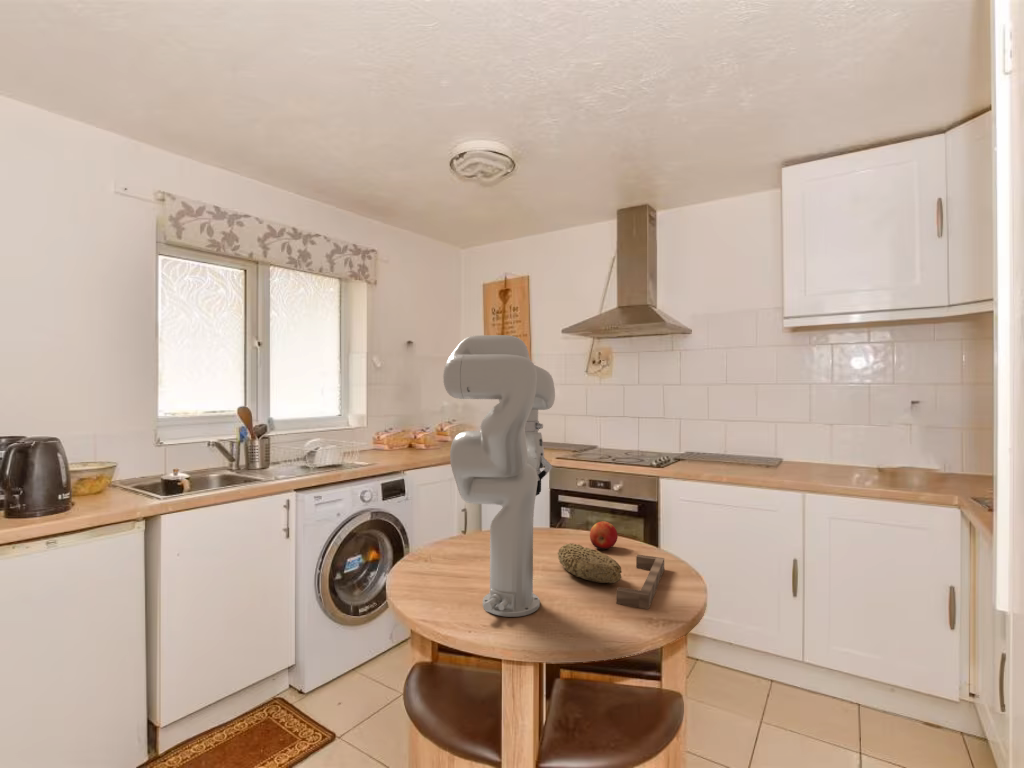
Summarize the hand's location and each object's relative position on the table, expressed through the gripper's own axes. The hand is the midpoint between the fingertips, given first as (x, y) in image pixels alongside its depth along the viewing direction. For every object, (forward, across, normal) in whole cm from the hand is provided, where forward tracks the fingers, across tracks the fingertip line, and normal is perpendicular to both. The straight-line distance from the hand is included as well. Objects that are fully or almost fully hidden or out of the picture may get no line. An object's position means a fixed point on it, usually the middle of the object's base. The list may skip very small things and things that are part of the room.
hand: (523, 493), depth 137 cm
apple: (+20, -16, -24) cm, 35 cm away
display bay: (+20, -31, 0) cm, 37 cm away
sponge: (+20, -18, -1) cm, 27 cm away
